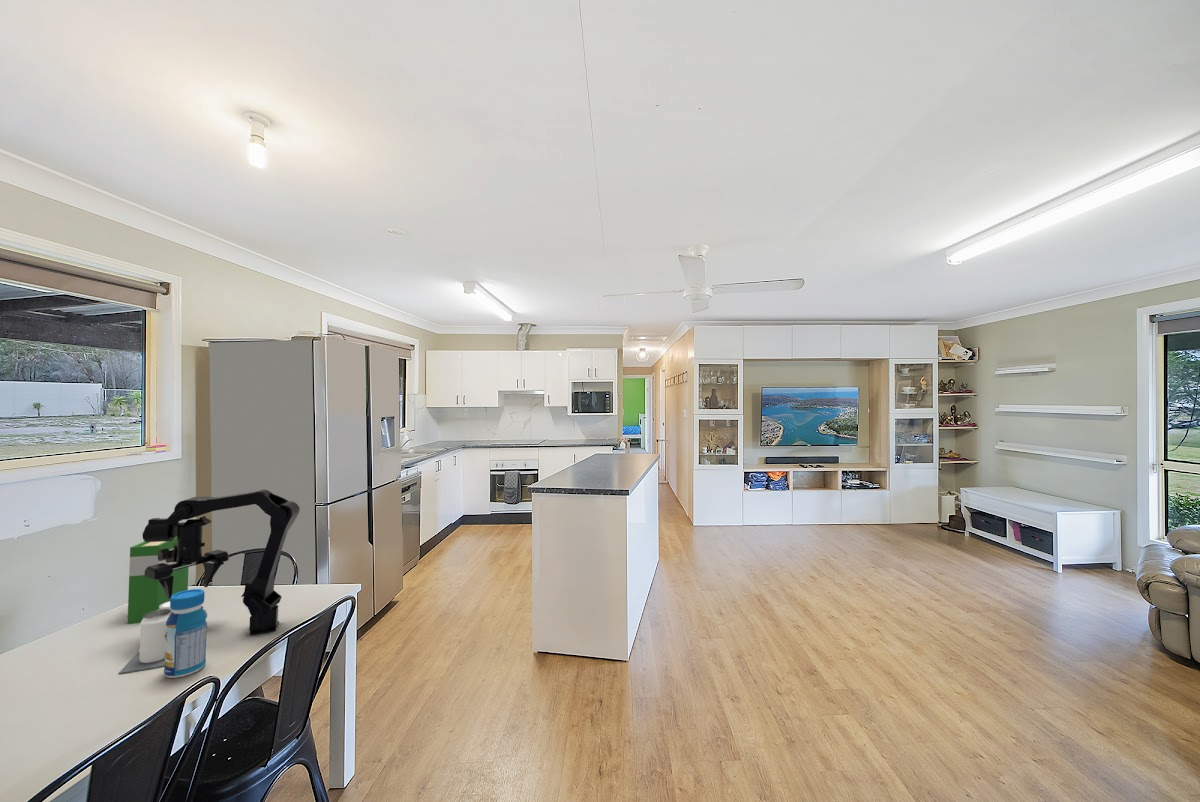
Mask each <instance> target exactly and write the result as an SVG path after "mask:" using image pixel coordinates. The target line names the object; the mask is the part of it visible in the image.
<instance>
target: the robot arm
mask: <svg viewBox="0 0 1200 802" xmlns="http://www.w3.org/2000/svg"><path fill="white" fill-rule="evenodd" d="M253 505H257V506H258V507H259V508H260V509H261V510H262V511H263V513H265V514H266V515H268V516H269V517H270V519H269V526H270V534H269V536H268V539H267V543H266V546H265V549H264V551H263V555H262V558H261V561H260V563H259V566H258V570H257V574H256V576H253V578H251V579H250V580H248V581H247V582H246V583H245V586H244V591H243V593H242V595H241V596H240V597H241V598H242V603H243V604H244V606H245V607H246V608H247V609H248V612H249V614H250V616H249V628H248V629H249V631H250V632H249V635H250V636H251V635H258V634H264V633H271V632H276V630H277V628H278V626H279V624H280V621H279V603H280V602H281V601H282V600H281V599H282V595H280V593H278V592H277V591H276V590H274V589H275V578H274V577H275V576H274V574H275V572H276V571H275V570H276V568H277V565H278V561H279V559H280V556H281V553H282V549H283V546H284V543H285V540H286V538H287V534H288V532H289V530H290V529H291V527H292V526H293V523H294V522H295V521H296V519H297V517H298V515H299V513H300V511H301V510H300V506H299V504H298V503H296V502H295V501H289V500H288V499H286V498H285V497H282V496H279V495H277V494H274V493H272V491H270V490H269V489H260V490H256V491H250V492H243V493H238V494H231V495H224V496H217V497H215V496H214V497H213V496H194V497H190V498H186V499H184V500H181V501H178V502H177V504H175V507H174V509H173V510H174V511H173V512H171V514H170V515H169V516H168V517H166V518H160V517H159V518H158V517H154V518H150V519H148V522H147V525H146V526H145V528H144V530H143V532H142V540H143V542H144V541H145V542H163V541H172V540H173V539H174V538H175V537H177V544H174V549H173V550H170V551H169V549H168V548H166V549H162V550H159V551H158V560H159V561H163V560H166V563H169V562H176V563H175V564H171V565H168V564H164V563H161V564H156V565H152V566H148V567H147V568H146V570H145V574H144V577H148V578H151V579H155V580H158V581H159V583H160V584H161V585H162V587H163V590H164V592H165V594H166V596H167V598H171V596H172V590H173V579H174V576H171V574H172V573H173V571H174V570H178V569H182V568H186V567H189V568H190V567H194V566H197V565H201V564H202V565H203V569H204V574H203V587H204V588H208V587H209V585H210V583H211V581H212V580H213V578H214V576H215V574H216V573H217V572H218V571H219V569H220V568H221V566H223V565H224V564H225V562H228V561H229V560H230V558H229V557H230V555H229V552H228V551H226V550H221V549H215V550H211V551H207V552H205V553H204V554H203V553H202V552H203V547H205V544H206V542H204V541H203V530H204V529H203V526H207V525H209V524H211V523H212V520H211V519H209V518H207V516H206V515H207V514H208V513H211V512H214V511H221V510H226V509H227V510H228V509H233V508H240V507H247V506H253ZM202 515H203V516H202ZM199 516H200V517H199ZM196 517H199V518H196ZM185 520H186V521H185ZM184 521H185V522H184ZM202 554H203V555H202ZM184 564H186V565H184Z"/></svg>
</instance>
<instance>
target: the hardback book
mask: <svg viewBox="0 0 1200 802" xmlns="http://www.w3.org/2000/svg"><path fill="white" fill-rule="evenodd" d="M174 544H177V537H175V538H174V539H173V540H172V541H163V542H145V541H144V540H143V541H142V542H140V543H137V544H135V545H133V546H131V547H129V548H130V549H129V570H128V571H129V572H128V573H129V574H128V575H129V576H128V594H127V595H128V601H127V603H128V604H127V623H126V624H127V625H130V624H131V625H132V624H141V621H142V620H143V616H144V615H145V614H147V613H149V612H152V611H156V610H159V606H160V605H161V604H163V603H165V602H169V601H170V599H171V598H167V596H166V594H165V592H164V590H163V587H162V585H161V584H160V583H159V581H158V580H155V579H151V578H148V577H144V574H145V570H146V568H147V567H148V566H152V565H156V564H161V563H164V564H168V565H171V564H175V563H176V562H169V563H166V560H163V561H159V560H158V551H159V550H162V549H166V548H168V549H169V551H170V550H173V549H174ZM184 565H186V564H184ZM189 568H190V567H186V568H182V569H178V570H174V571H173V573H172V574H171V576H174V579H173V590H172V595H174V594H176V593H178V592H181V591H185V590H189Z"/></svg>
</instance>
